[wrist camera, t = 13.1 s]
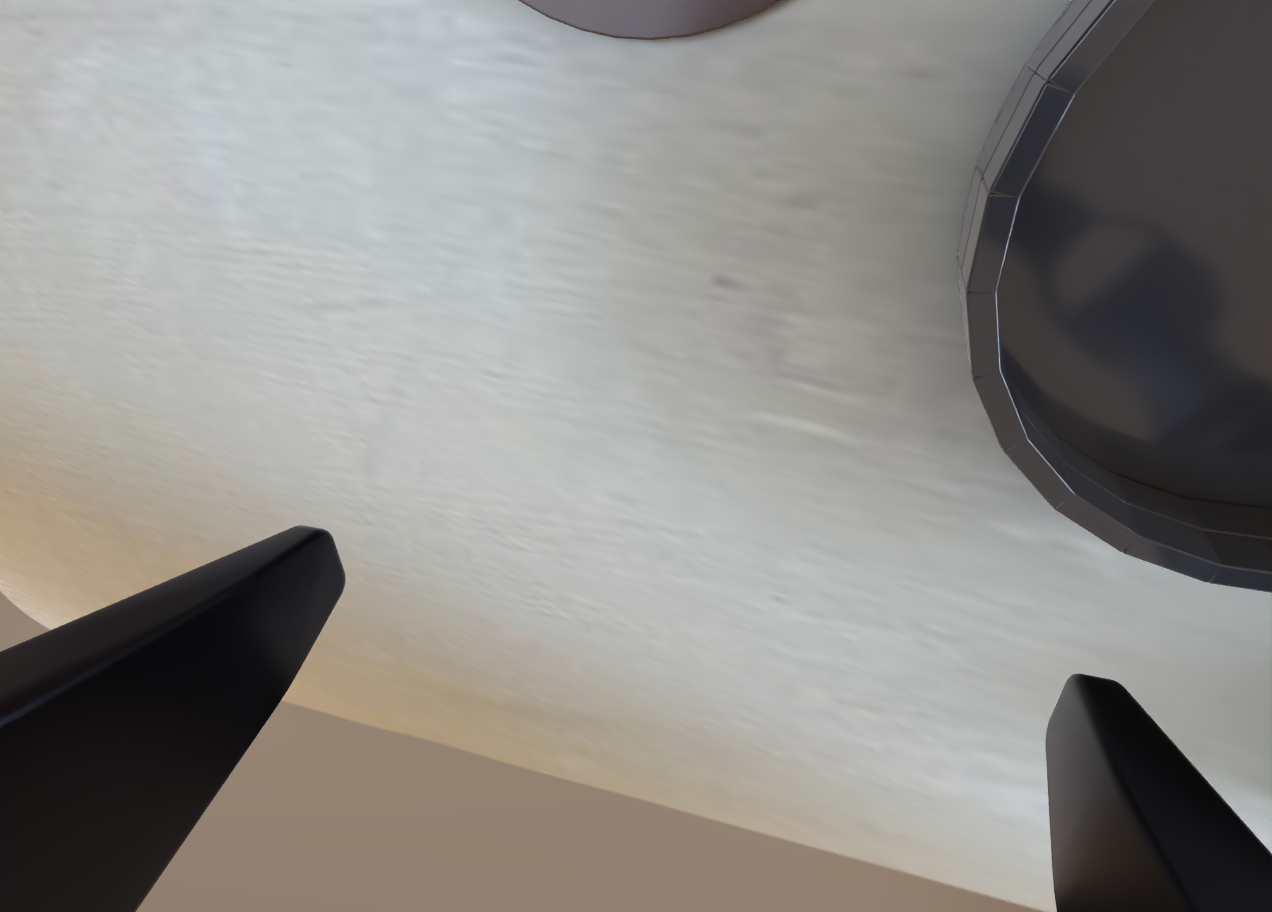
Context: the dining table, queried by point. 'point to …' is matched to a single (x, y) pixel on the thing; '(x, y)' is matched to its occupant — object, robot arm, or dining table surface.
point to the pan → (1134, 280)
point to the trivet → (649, 15)
